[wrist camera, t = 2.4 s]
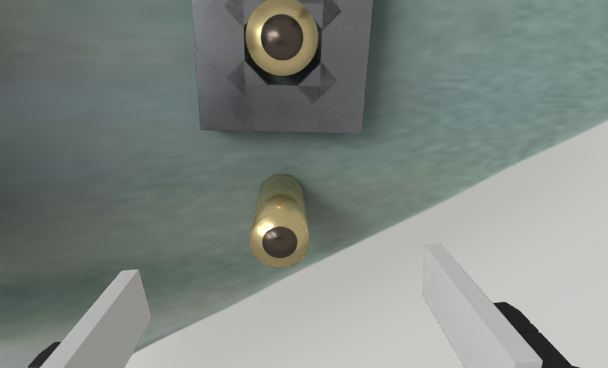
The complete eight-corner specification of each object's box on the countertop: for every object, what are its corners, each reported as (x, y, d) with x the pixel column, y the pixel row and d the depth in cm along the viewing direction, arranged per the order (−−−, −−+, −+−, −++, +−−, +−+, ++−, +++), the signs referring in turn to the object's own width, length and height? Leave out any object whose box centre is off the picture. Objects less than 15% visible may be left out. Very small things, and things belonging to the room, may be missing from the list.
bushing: (260, 214, 35) (250, 268, 26) (259, 173, 34) (249, 215, 24) (302, 214, 35) (308, 268, 26) (303, 174, 34) (310, 215, 25)
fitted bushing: (258, 72, 31) (246, 74, 21) (258, 19, 29) (244, -5, 20) (307, 74, 31) (316, 76, 21) (308, 21, 30) (319, -2, 20)
